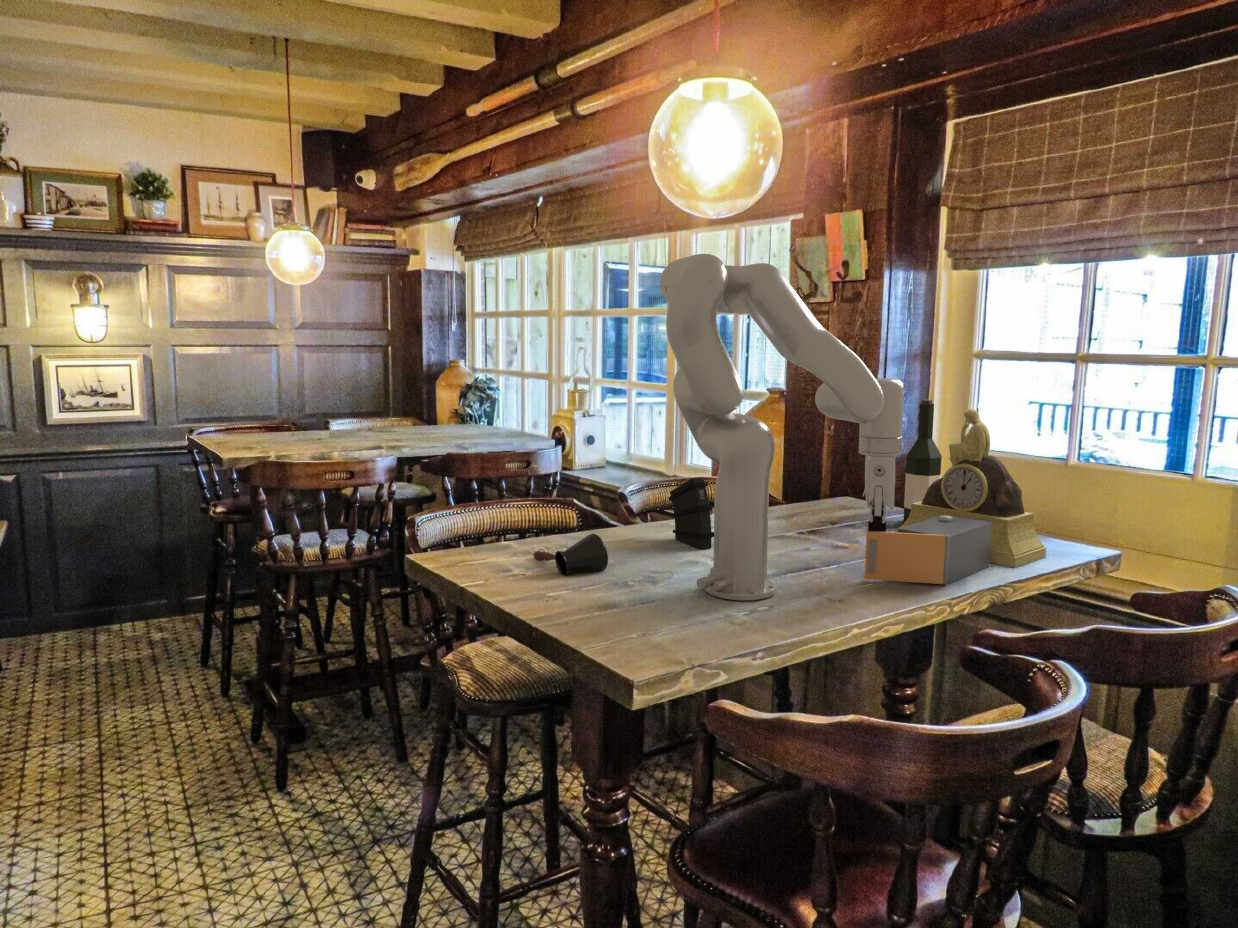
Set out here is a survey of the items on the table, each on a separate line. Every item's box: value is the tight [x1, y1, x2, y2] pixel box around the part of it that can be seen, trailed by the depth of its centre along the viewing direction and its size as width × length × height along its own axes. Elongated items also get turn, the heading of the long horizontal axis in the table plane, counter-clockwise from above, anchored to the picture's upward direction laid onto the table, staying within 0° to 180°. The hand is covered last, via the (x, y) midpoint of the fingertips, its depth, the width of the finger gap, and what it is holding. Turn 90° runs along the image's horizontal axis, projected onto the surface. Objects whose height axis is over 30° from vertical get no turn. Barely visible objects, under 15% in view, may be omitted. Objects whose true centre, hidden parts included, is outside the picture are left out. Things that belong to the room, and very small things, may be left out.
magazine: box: [668, 476, 714, 551], centre depth 189 cm, size 4×13×15 cm, turn 27°
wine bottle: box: [902, 399, 943, 523], centre depth 205 cm, size 8×8×30 cm
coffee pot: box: [533, 533, 609, 577], centre depth 171 cm, size 8×18×8 cm
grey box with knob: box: [897, 515, 992, 586], centre depth 168 cm, size 20×10×10 cm, turn 133°
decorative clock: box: [893, 408, 1047, 568], centre depth 182 cm, size 28×13×30 cm, turn 39°
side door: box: [864, 530, 950, 585], centre depth 158 cm, size 2×14×9 cm, turn 76°
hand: (876, 542), depth 161 cm, fingers closed
